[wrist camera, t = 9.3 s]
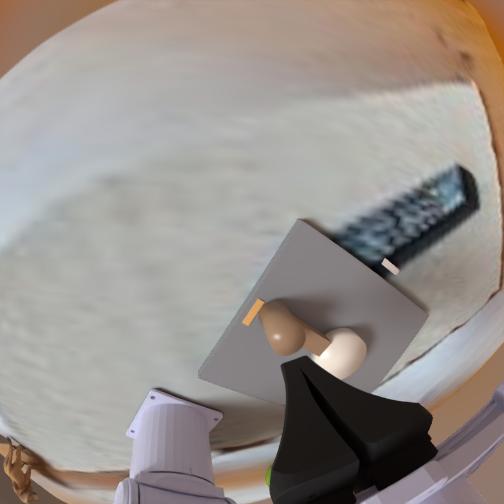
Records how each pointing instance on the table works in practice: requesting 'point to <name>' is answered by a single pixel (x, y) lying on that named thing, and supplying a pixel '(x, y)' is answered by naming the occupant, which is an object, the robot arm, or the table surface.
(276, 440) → the table surface
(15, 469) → the lion figurine
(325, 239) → the stud board
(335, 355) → the brown white rounded rod
